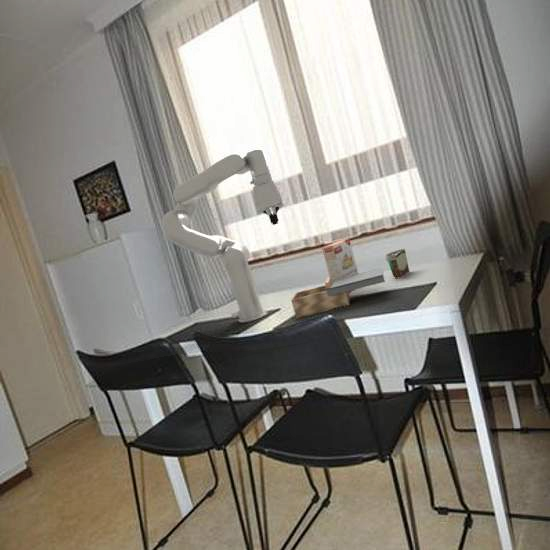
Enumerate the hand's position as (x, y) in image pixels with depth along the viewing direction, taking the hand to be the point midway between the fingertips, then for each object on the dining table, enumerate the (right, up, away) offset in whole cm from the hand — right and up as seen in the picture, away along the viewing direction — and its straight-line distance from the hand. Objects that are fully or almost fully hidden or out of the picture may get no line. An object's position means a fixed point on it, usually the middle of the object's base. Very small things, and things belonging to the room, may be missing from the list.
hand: (275, 224), depth 190 cm
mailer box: (+18, -33, -13) cm, 40 cm away
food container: (+51, -21, +4) cm, 56 cm away
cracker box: (+30, -28, +3) cm, 41 cm away
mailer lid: (+30, -24, -17) cm, 42 cm away
